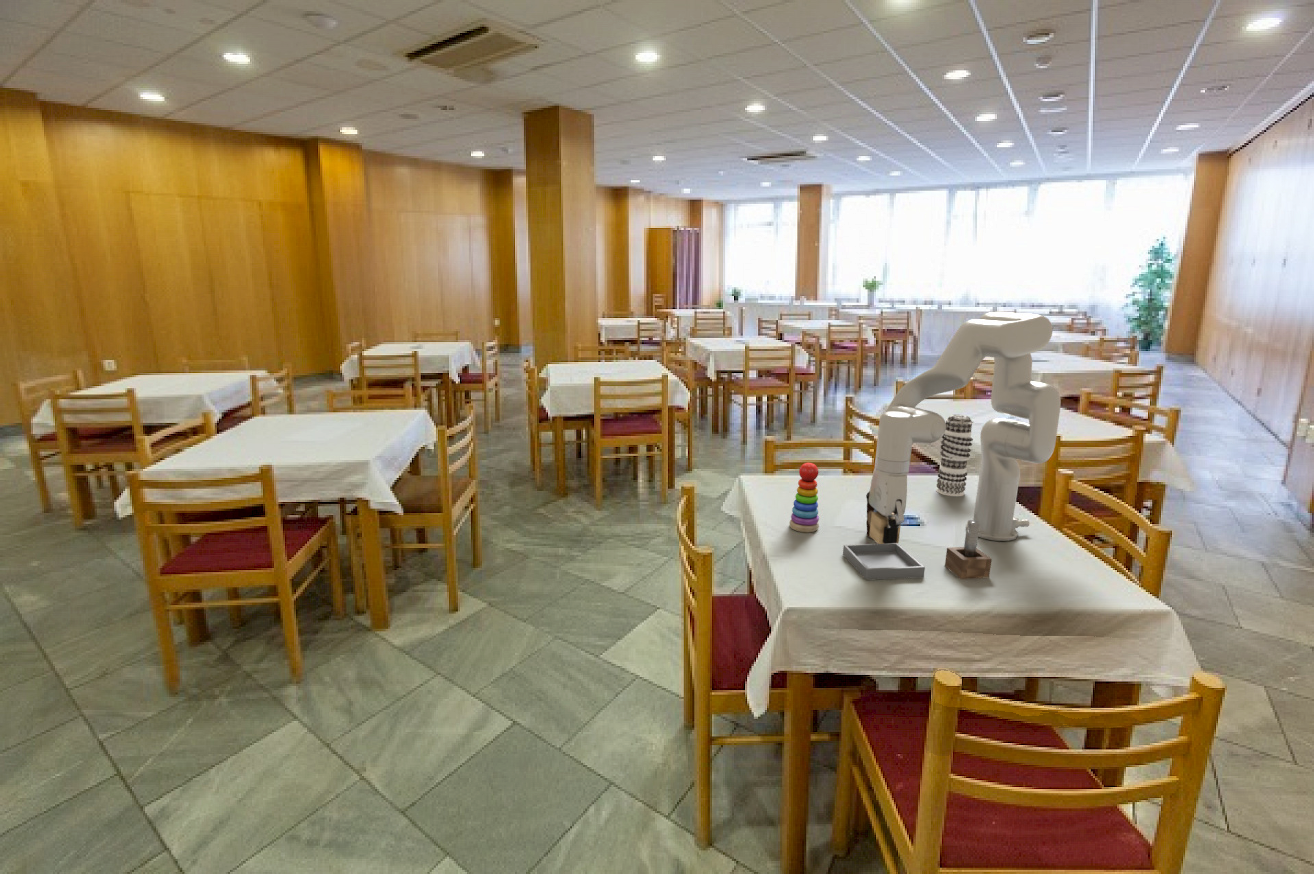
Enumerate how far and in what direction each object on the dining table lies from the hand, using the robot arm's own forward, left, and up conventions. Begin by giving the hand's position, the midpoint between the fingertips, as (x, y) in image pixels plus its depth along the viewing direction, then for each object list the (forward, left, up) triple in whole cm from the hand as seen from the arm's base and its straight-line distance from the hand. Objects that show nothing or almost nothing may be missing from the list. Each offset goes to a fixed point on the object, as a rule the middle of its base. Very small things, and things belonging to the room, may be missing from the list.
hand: (884, 537), depth 159 cm
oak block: (0, 0, -1) cm, 1 cm away
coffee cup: (-7, -17, -8) cm, 20 cm away
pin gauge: (-19, +5, -7) cm, 21 cm away
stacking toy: (+11, -25, -8) cm, 28 cm away
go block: (-19, +5, -8) cm, 21 cm away
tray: (0, 0, -7) cm, 7 cm away
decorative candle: (-46, -50, -8) cm, 69 cm away
